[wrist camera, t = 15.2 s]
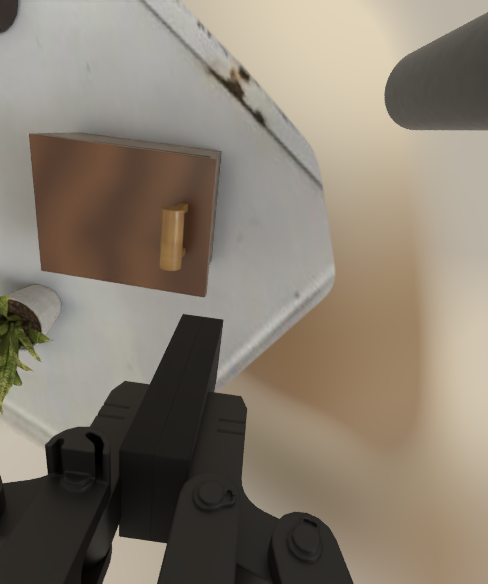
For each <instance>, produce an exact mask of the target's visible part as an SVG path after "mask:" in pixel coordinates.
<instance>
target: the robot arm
mask: <svg viewBox="0 0 488 584" xmlns="http://www.w3.org/2000/svg"><path fill="white" fill-rule="evenodd" d="M222 327H223V320H222V319H215V318H207V317H200V316H193V315H186V314H183V315H182V317H181V319H180V321H179V323H178V326H177V328H176V330H175V332H174V334H173V336H172V338H171V341H170V343H169V345H168V347H167V349H166V351H165V353H164V355H163V358H162V360H161V362H160V364H159V366H158V368H157V370H156V372H155V375H154V377H153V379H152V381H151V383H150V385H149V384H142V383H135V382H128V381H124V382H123V383H122V384H120V385H119V386H117V387H116V388H115V389H113V390H112V391H111V393H110V394H109V396H108V398H107V399H106V401H105V403H104V406H102V408H101V409H100V411H99V413H98V416H96V417H95V419H94V421H93V422H92V424H91V426H90V427H76V428H72V429H68V430H65V431H63V432H61V433H59V434H57V435H55V436H54V437H53V438H52V439H51V440H50V441H49V442H48V443H47V444H46V445H45V449H46V459H47V469H48V475H46V476H44V477H41V478H36V479H32V480H25V481H17V482H10V483H2V480H1V476H0V584H102V583H103V580H104V577H105V575H106V572H107V569H108V567H109V564H110V560H111V554H112V541H113V538H114V535H115V532H116V530H117V528H118V525H119V536H120V537H127V538H134V539H141V540H148V541H155V542H161V543H167V546H166V551H165V554H164V558H163V562H162V566H161V570H160V574H159V579H158V583H157V584H353V581H352V578H351V576H350V574H349V571H348V568H347V566H346V563H345V561H344V558H343V556H342V553H341V551H340V548H339V546H338V543H337V540H336V539H335V537H334V535H333V534H332V532H331V530H330V528H329V527H328V526H327V525H325V524H324V523H323V522H322V521H321V520H320V519H319V518H317V517H315V516H312V515H310V514H308V513H301V512H293V513H289V514H286V515H284V516H282V517H281V518H280V519H278V518H276V517H274V516H272V515H270V514H268V513H266V512H264V511H262V510H261V509H259V508H257V507H256V506H255V505H254V504H253V503H252V502H251V501H250V500H249V499H248V497H247V496H246V495H245V493H244V490H243V487H242V480H241V477H242V465H243V452H244V440H245V428H246V414H247V408H246V406H245V403H244V401H243V399H242V397H241V396H235V395H228V394H221V393H214V389H215V384H216V378H217V370H218V361H219V353H220V344H221V335H222Z"/></svg>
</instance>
